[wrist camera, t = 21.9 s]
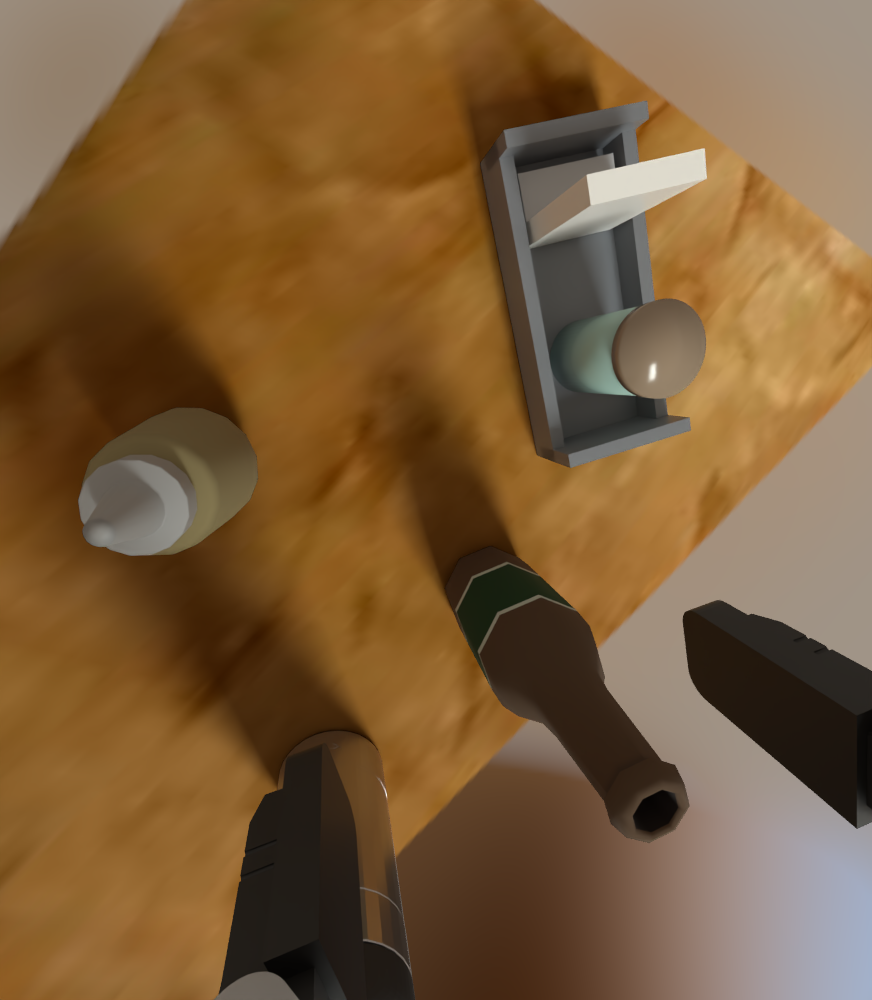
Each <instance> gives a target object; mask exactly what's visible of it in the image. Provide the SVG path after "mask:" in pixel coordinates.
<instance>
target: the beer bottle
mask: <svg viewBox="0 0 872 1000" xmlns="http://www.w3.org/2000/svg"><path fill="white" fill-rule="evenodd" d="M445 590H446V593H447V596H448V598H449V601H450V604H451V606H452V609H453V612H454V615H455V617H456V620H457V622H458V625H459V627H460V629H461V631H462V633H463V635H464V637H465V639H466V641H467V642H468V644H469V646H470V648H471V650H472V652H473V654H474V656H475V658H476V660H477V662H478V664H479V665H480V667H481V669H482V671H483V673H484V675H485V677H486V679H487V681H488V683H489V685H490V687H491V688H492V690H493V692H494V693H495V695H496V696H497V698H498V699H499V701H500V702H501V704H502V705H503V706H504V707H505V708H507V709H508V710H510V711H511V712H513V713H514V714H516V715H517V716H520V717H523V718H526V719H530V720H533V721H536V722H539V723H543V724H544V725H545V726H546V727H547V728H548V729H549V730H550V731H551V732H552V733H553V734H554V735H555V736H556V737H557V738H558V740H559V741H560V742H561V744H562V745H563V746H564V748H565V749H566V750H567V752H568V753H569V755H570V756H571V757H572V758H573V760H574V761H575V762H576V764H577V765H578V767H579V768H580V769H581V771H582V772H583V773H584V774H585V776H586V777H587V779H588V780H589V781H590V783H591V784H592V785H593V787H594V788H595V790H596V791H597V792H598V793H599V795H600V796H601V797H602V799H603V800H604V802H605V806H606V809H607V812H608V816H609V819H610V822H611V824H612V825H613V826H614V827H615V828H616V829H617V830H619V831H620V832H621V833H622V834H623V835H624V836H625V837H627V838H631V839H635V840H639V841H643V842H647V843H650V842H652V841H654V840H656V839H658V838H660V837H662V836H664V835H666V834H668V833H670V832H672V831H673V830H675V829H676V827H677V826H678V824H679V822H680V821H681V819H682V817H683V815H684V814H685V813H686V811H687V809H688V807H689V802H688V797H687V793H686V789H685V785H684V782H683V780H682V778H681V776H680V774H679V773H678V770H677V768H676V766H675V765H673V764H670V763H667V762H663V761H661V759H660V758H659V757H658V755H657V754H656V753H655V751H654V750H653V749H652V748H651V746H650V745H649V743H648V742H647V741H646V740H645V738H644V737H643V736H642V735H641V733H640V732H639V730H638V729H637V728H636V727H635V725H634V724H633V723H632V721H631V720H630V719H629V717H628V716H627V715H626V713H625V712H624V711H623V709H622V708H621V707H620V706H619V704H618V703H617V702H616V700H615V699H614V698H613V696H612V695H611V694H610V692H609V691H608V690H607V688H606V686H605V684H604V679H605V676H604V672H603V669H602V665H601V662H600V658H599V654H598V650H597V647H596V643H595V641H594V638H593V635H592V632H591V629H590V626H589V625H588V624H587V622H586V621H585V620H584V619H583V618H582V616H581V615H580V614H579V613H578V612H577V611H576V610H575V609H574V608H573V607H572V606H571V605H570V604H569V603H568V602H567V601H566V600H565V599H564V598H563V597H561V596H560V595H559V594H558V593H557V592H556V591H555V590H554V589H553V588H552V587H551V586H550V585H549V584H548V583H547V582H546V581H544V580H543V579H542V578H541V577H540V576H539V575H538V574H537V573H536V572H535V571H534V570H533V569H532V568H531V567H530V566H529V565H527V564H526V563H525V562H524V561H522V560H521V559H520V558H518V557H516V556H513V555H511V554H508V553H506V552H503V551H501V550H499V549H496V548H494V547H491V546H489V547H487V548H485V549H482V550H480V551H477V552H475V553H472V554H470V555H467V556H465V557H463V558H460V559H459V561H458V563H457V565H456V567H455V569H454V571H453V573H452V575H451V577H450V579H449V581H448V583H447V585H446V587H445Z"/></svg>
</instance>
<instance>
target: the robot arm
mask: <svg viewBox="0 0 872 1000" xmlns="http://www.w3.org/2000/svg"><path fill="white" fill-rule="evenodd" d="M683 627H684V635H685V643H686V653H687V661H688V669H689V674H690V677H691V679H692V681H693V683H694V685H695V687H696V688H697V690H698V692H699V693H700V694H701V695H702V696H703V698H705V699H706V700H707V701H708V702H709V703H710V704H711V705H712V706H714V707H715V708H716V709H717V710H718V711H720V712H721V713H722V714H723V715H724V716H725V717H727V718H728V719H729V720H730V721H731V722H733V723H734V724H735V725H736V726H737V727H738V728H739V729H741V730H742V731H743V732H744V733H745V734H746V735H748V736H749V737H750V738H751V739H752V740H753V741H755V742H756V743H757V744H758V745H759V746H760V747H762V748H763V749H764V750H765V751H766V752H768V753H769V754H770V755H771V756H772V757H774V758H775V759H776V760H777V761H778V762H780V764H782V765H783V766H784V767H785V768H786V769H788V770H789V771H790V772H791V773H792V774H793V775H795V776H796V777H797V778H798V779H799V780H800V781H801V782H803V783H804V784H805V785H806V786H807V787H808V788H810V789H811V790H812V791H814V793H816V794H817V795H818V796H819V797H820V798H822V799H823V800H824V801H825V802H826V803H827V804H828V805H830V806H831V807H832V808H833V809H834V810H836V811H837V812H838V813H839V814H840V815H841V816H843V817H844V818H845V819H846V820H847V821H848V822H849V823H851V824H852V825H853V826H854V827H855V828H857V829H858V828H860V827H862V826H864V825H867V824H869V823H871V822H872V671H871V670H869V669H867V668H865V667H863V666H862V665H860V664H858V663H856V662H854V661H852V660H850V659H849V658H847V657H845V656H843V655H841V654H839V653H838V652H836V651H834V650H828V649H827V647H826V646H825V645H823V644H821V643H819V642H817V641H815V640H813V639H811V638H809V639H808V638H807V637H806V635H804V634H802V633H801V632H799V631H797V630H795V629H793V628H791V627H789V626H788V625H786V624H784V623H782V622H779V621H776V620H772V619H769V618H765V617H762V616H758V615H754V614H750V615H747V614H745V613H743V612H741V611H740V610H738V609H736V608H734V607H732V606H731V605H729V604H727V603H725V602H723V601H720V600H717V601H714V602H711V603H708V604H705V605H702V606H700V607H697V608H694V609H691V610H689V611H686V612H685V613H684V615H683ZM240 876H241V882H239V887H238V892H237V898H236V904H235V909H234V915H233V921H232V926H231V932H230V938H229V943H228V949H227V955H226V960H225V966H224V971H223V977H222V982H221V987H220V991H219V995H218V996H217V997H216V998H215V999H214V1000H415V995H414V988H413V980H412V974H411V968H410V959H409V952H408V945H407V938H406V931H405V925H404V918H403V911H402V904H401V896H400V889H399V882H398V875H397V868H396V860H395V853H394V846H393V839H392V832H391V824H390V817H389V810H388V803H387V794H386V787H385V780H384V773H383V766H382V760H381V757H380V754H379V752H378V750H377V749H376V747H375V746H374V745H373V744H372V743H371V742H370V741H369V740H368V739H366V738H364V737H362V736H360V735H358V734H355V733H352V732H347V731H328V732H324V733H320V734H316V735H314V736H312V737H310V738H307V739H305V740H304V741H302V742H301V743H300V744H298V745H297V746H296V747H295V748H294V749H293V750H292V751H291V752H290V753H289V754H288V755H287V757H286V758H285V760H284V762H283V764H282V766H281V769H280V772H279V780H278V788H277V791H274V792H272V793H269V794H266V795H265V796H264V798H263V800H262V801H261V803H260V805H259V807H258V809H257V811H256V812H255V814H254V816H253V818H252V820H251V822H250V824H249V830H248V836H247V841H246V847H245V857H244V858H243V864H242V870H241V875H240Z"/></svg>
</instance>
